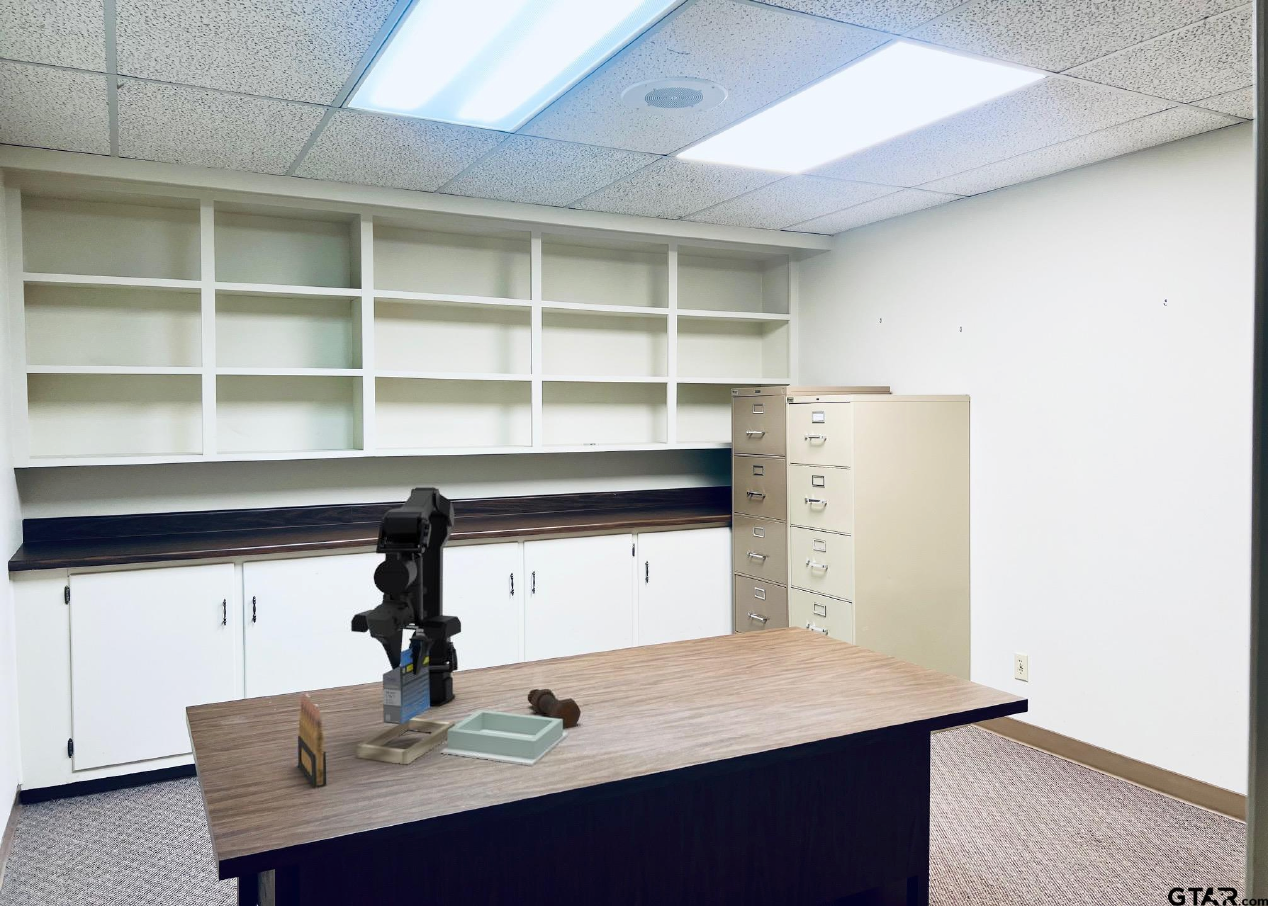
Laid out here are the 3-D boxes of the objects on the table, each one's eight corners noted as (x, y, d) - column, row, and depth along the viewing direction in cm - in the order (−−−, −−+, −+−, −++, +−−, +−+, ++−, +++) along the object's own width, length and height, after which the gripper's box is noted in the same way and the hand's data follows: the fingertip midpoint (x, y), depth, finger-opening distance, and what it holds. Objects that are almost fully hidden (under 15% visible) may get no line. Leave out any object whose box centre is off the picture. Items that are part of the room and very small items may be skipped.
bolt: (538, 714, 174) (571, 735, 161) (517, 705, 171) (549, 725, 158) (550, 687, 175) (585, 705, 162) (530, 677, 173) (563, 695, 160)
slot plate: (440, 753, 148) (440, 733, 148) (483, 724, 162) (483, 706, 162) (531, 766, 142) (531, 745, 142) (568, 735, 157) (568, 716, 156)
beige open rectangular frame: (355, 757, 146) (355, 745, 146) (406, 728, 160) (406, 717, 160) (407, 764, 143) (407, 752, 143) (454, 734, 157) (454, 723, 157)
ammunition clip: (297, 766, 143) (296, 693, 142) (309, 763, 144) (308, 691, 143) (314, 788, 134) (313, 711, 134) (326, 785, 135) (325, 708, 135)
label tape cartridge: (411, 707, 156) (410, 638, 156) (430, 709, 155) (430, 639, 155) (382, 722, 148) (381, 650, 148) (402, 725, 147) (401, 651, 146)
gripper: (329, 588, 146) (330, 681, 147) (427, 595, 140) (427, 692, 141) (370, 577, 157) (371, 664, 157) (462, 583, 151) (463, 673, 151)
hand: (406, 673), depth 151 cm, fingers closed on label tape cartridge, 4 cm apart
